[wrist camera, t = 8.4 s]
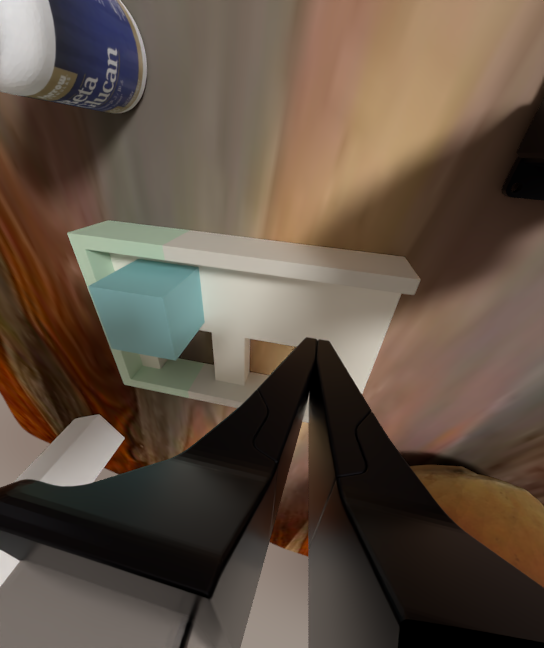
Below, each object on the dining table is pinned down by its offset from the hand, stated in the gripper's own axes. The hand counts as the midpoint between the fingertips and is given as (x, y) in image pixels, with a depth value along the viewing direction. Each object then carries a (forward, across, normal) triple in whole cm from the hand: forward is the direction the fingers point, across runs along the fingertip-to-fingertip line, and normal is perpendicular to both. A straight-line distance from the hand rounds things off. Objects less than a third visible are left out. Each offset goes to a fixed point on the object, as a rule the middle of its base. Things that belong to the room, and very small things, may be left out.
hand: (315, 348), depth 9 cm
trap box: (+12, +6, +8) cm, 15 cm away
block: (+10, +12, +4) cm, 16 cm away
